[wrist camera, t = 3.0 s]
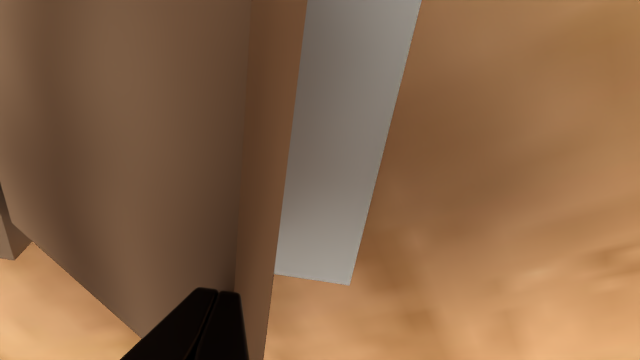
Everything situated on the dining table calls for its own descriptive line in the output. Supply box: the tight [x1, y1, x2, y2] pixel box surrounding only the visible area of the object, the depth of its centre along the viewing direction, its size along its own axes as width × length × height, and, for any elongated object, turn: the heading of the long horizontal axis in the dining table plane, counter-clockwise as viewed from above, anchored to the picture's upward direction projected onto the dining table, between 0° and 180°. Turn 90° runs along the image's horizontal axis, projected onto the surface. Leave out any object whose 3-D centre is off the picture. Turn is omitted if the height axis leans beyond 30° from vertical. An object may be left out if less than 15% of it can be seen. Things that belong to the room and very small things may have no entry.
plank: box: [0, 0, 308, 360], centre depth 10 cm, size 10×11×1 cm
